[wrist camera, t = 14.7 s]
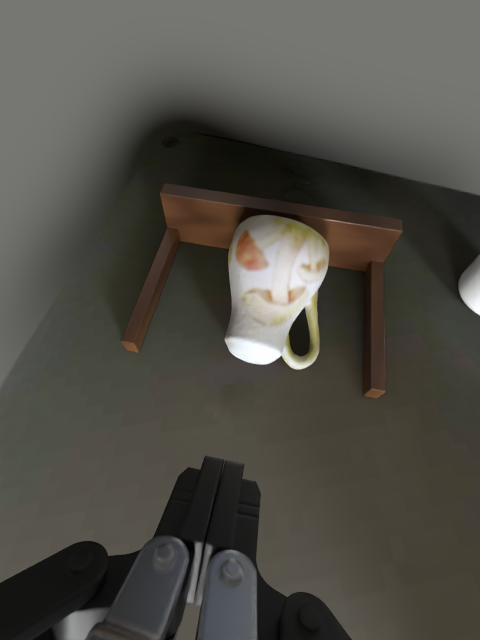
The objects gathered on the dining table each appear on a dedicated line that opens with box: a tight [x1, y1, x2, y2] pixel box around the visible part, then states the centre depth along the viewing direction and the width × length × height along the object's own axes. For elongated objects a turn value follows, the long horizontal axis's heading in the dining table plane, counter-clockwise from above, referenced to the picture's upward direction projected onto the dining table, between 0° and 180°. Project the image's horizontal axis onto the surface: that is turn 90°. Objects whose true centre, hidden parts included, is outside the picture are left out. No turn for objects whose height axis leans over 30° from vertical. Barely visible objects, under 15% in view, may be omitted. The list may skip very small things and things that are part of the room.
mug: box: [225, 215, 329, 369], centre depth 24 cm, size 8×10×10 cm
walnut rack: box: [121, 183, 402, 398], centre depth 25 cm, size 18×12×5 cm
